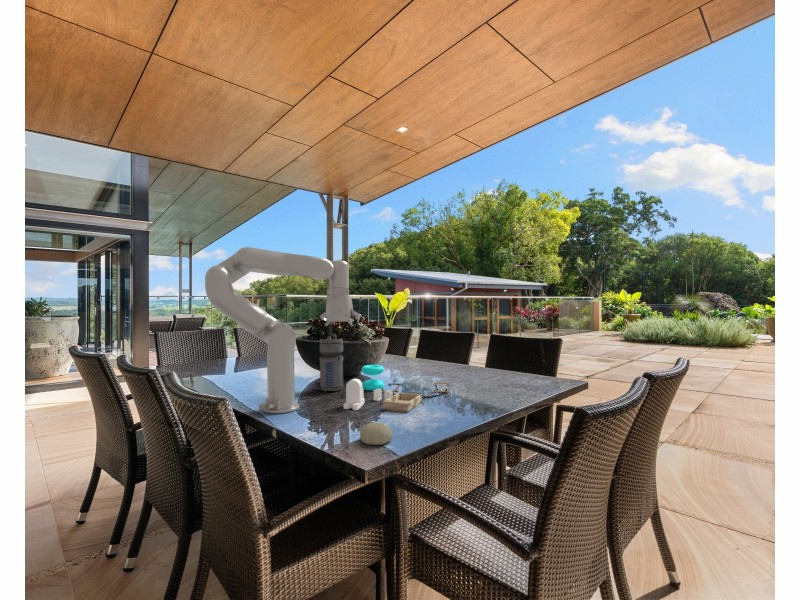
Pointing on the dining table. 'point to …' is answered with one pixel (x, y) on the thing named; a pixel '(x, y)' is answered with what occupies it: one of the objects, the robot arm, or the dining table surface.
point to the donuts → (372, 383)
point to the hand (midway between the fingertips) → (340, 336)
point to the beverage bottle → (331, 364)
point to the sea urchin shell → (376, 434)
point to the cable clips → (379, 394)
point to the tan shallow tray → (402, 402)
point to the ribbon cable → (423, 397)
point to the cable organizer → (354, 395)
